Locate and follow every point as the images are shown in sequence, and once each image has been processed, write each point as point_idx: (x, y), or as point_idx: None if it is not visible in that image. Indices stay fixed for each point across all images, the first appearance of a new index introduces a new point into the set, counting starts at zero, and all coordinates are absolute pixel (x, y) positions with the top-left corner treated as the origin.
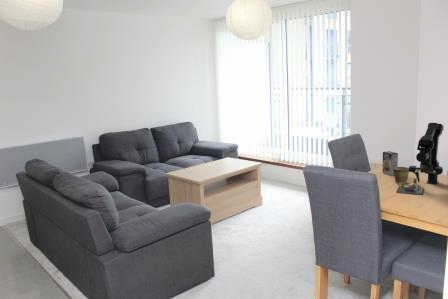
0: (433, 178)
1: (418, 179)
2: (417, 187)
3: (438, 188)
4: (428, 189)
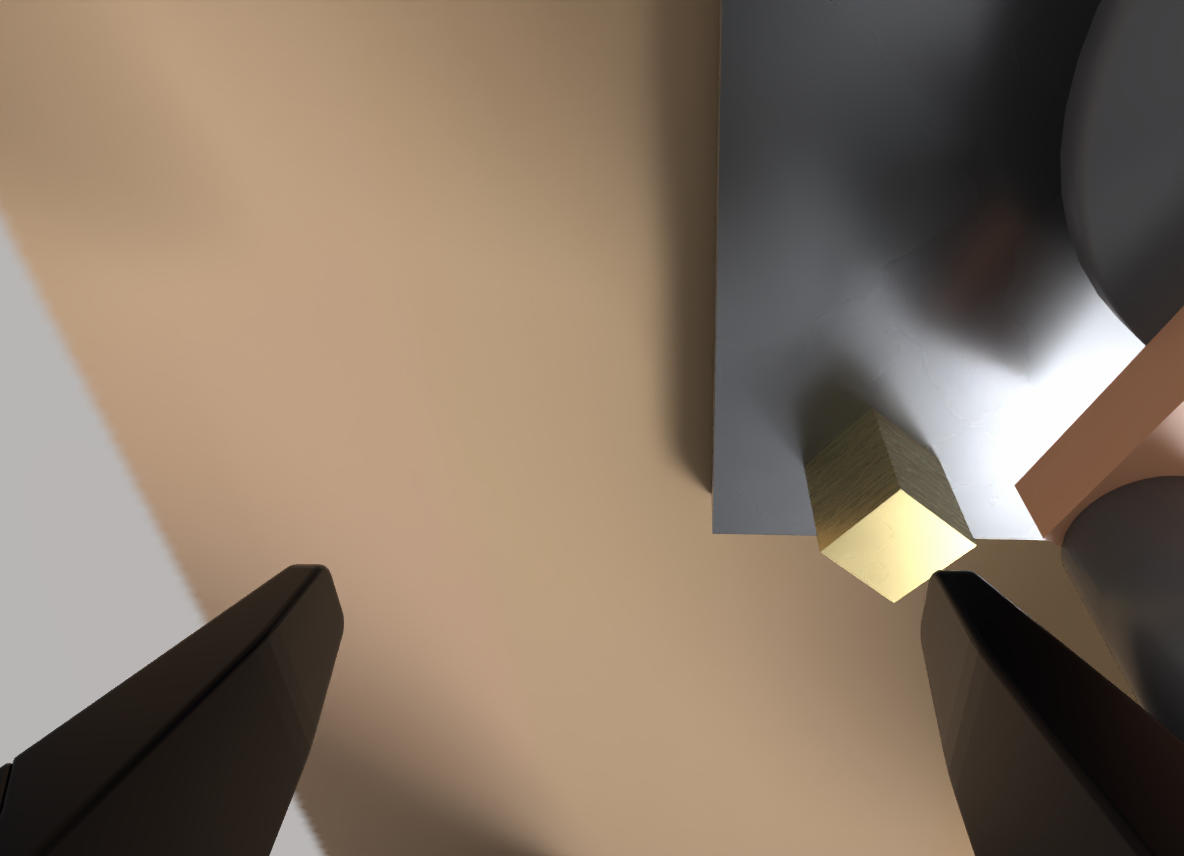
0: (37, 766)
1: (1057, 689)
2: (934, 451)
3: None
4: (549, 468)
